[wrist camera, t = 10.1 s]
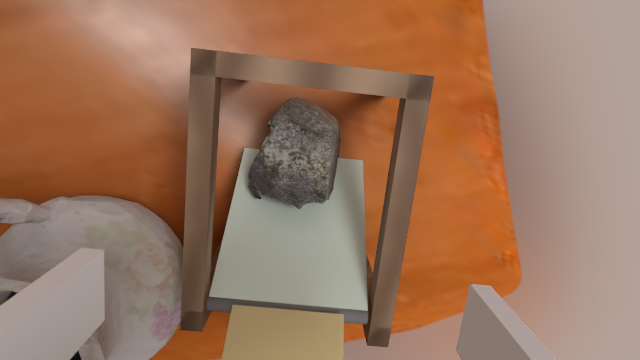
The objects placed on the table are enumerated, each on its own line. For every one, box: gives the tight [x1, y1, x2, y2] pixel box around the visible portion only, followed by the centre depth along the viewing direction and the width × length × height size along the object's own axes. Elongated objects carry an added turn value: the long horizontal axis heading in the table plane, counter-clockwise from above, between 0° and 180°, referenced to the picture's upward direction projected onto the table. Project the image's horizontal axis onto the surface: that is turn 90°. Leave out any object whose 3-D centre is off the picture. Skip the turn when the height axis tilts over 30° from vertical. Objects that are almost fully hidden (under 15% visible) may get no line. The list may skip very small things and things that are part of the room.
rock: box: [248, 98, 341, 209], centre depth 41 cm, size 13×9×6 cm
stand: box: [180, 48, 434, 347], centre depth 40 cm, size 18×23×18 cm
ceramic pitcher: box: [0, 195, 183, 360], centre depth 39 cm, size 22×20×25 cm
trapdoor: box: [207, 148, 368, 360], centre depth 38 cm, size 13×23×3 cm
